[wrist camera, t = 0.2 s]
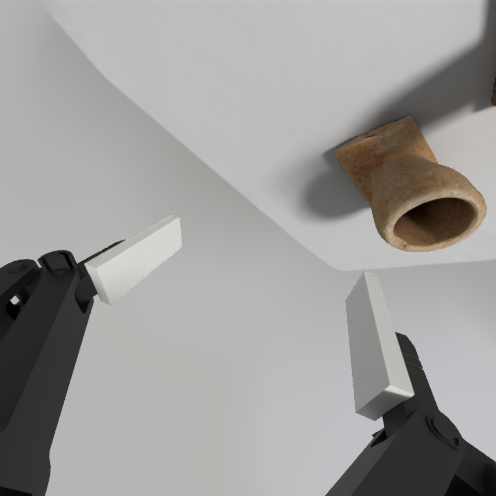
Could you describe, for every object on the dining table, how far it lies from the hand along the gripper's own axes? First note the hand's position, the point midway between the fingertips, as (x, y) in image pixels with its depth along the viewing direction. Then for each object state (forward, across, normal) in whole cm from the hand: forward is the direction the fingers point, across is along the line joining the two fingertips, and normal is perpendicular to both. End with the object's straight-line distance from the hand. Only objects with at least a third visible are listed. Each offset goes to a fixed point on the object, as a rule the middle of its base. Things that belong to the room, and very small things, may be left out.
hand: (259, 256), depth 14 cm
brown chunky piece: (+28, +13, +5) cm, 31 cm away
